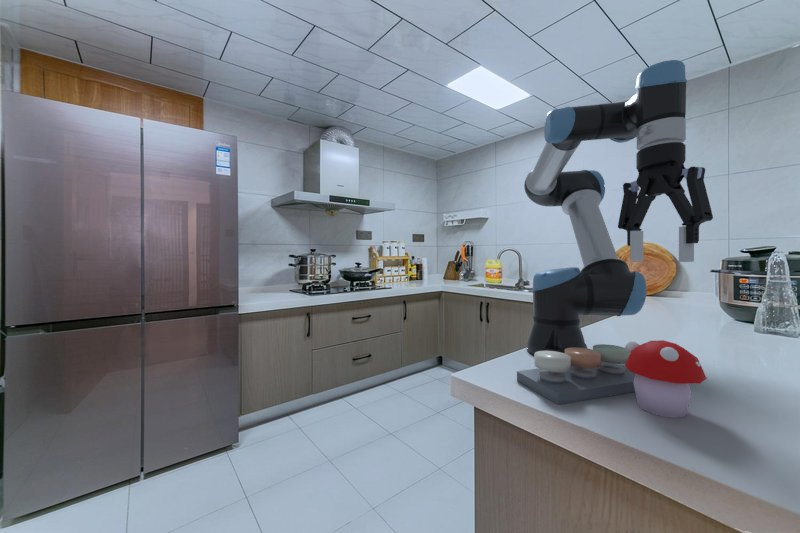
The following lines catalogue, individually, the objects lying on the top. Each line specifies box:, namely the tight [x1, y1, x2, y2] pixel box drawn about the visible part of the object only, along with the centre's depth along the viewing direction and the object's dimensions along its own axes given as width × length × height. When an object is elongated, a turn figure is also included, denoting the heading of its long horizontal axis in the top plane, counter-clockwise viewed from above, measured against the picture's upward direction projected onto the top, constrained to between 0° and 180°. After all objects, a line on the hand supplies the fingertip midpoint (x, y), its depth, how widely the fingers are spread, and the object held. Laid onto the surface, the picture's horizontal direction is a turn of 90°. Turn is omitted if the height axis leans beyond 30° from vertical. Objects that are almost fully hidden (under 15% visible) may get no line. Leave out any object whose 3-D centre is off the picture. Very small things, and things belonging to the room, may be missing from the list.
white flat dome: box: [533, 351, 571, 372], centre depth 64 cm, size 7×7×2 cm
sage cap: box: [592, 343, 630, 365], centre depth 68 cm, size 7×7×2 cm
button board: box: [516, 361, 636, 405], centre depth 66 cm, size 12×23×3 cm, turn 105°
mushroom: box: [624, 339, 707, 419], centre depth 55 cm, size 11×11×12 cm
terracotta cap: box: [565, 347, 601, 368], centre depth 66 cm, size 7×7×2 cm
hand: (659, 261), depth 64 cm, fingers open, 9 cm apart
